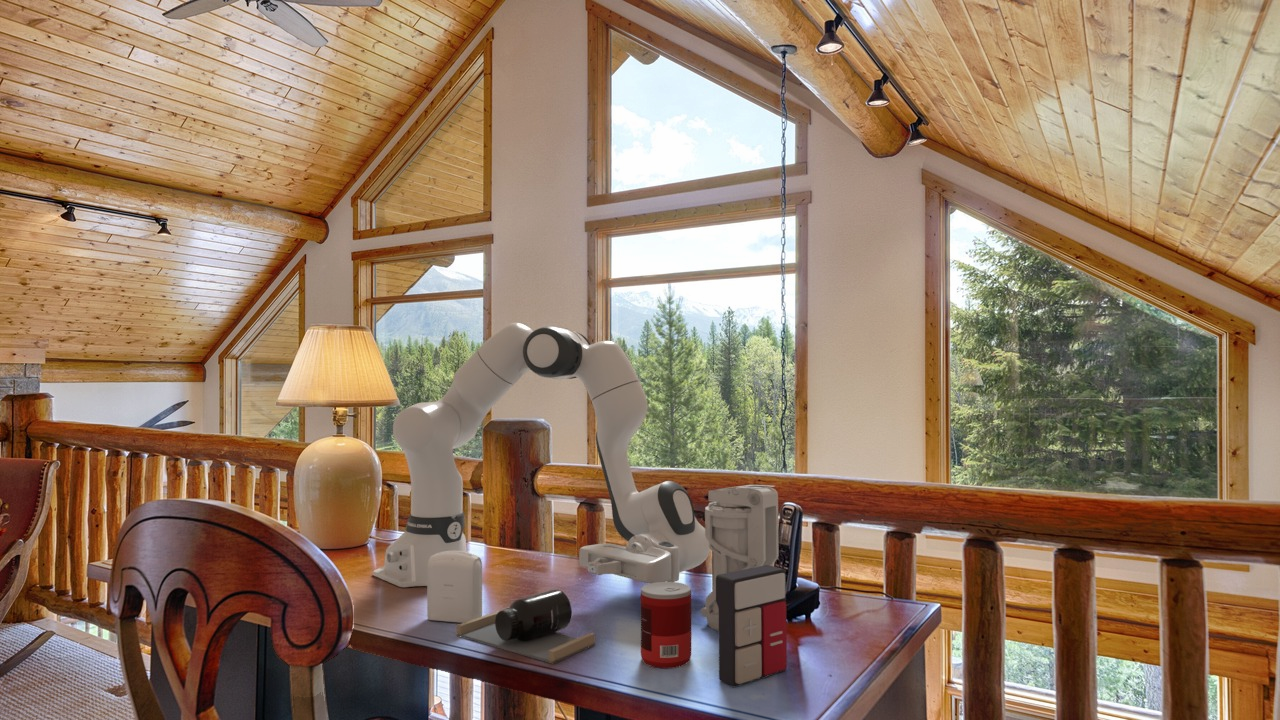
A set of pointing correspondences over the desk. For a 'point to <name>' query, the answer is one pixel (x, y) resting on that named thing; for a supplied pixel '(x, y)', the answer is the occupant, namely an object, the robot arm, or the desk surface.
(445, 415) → the robot arm
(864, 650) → the desk surface
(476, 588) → the photo printer
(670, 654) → the canned food
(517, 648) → the felt tray
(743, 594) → the calculator
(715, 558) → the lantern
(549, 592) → the supplement bottle
